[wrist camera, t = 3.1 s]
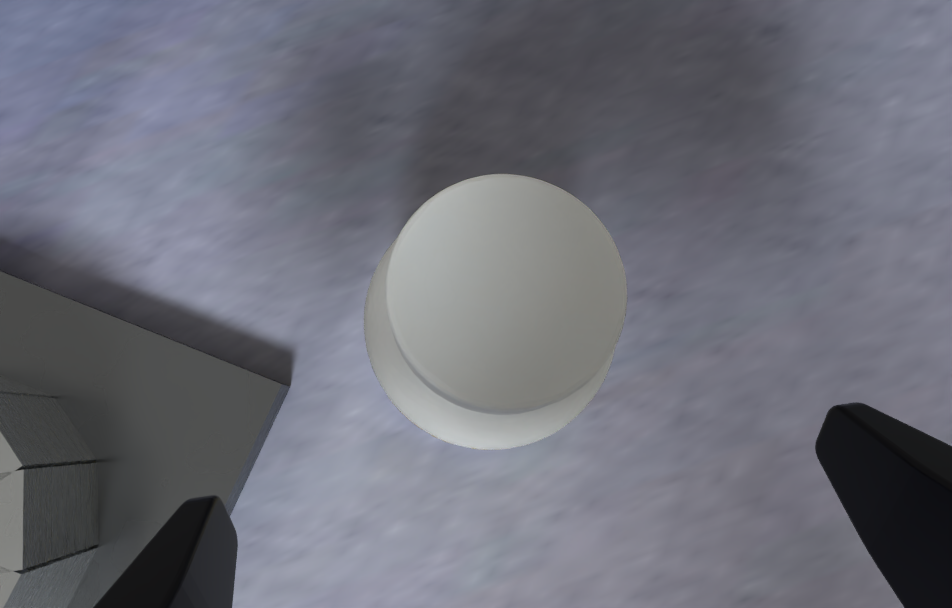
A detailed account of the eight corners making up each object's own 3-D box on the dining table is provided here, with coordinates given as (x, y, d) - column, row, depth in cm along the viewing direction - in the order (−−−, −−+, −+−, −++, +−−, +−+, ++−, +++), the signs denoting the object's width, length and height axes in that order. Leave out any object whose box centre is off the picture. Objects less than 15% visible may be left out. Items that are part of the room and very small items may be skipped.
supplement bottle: (356, 333, 19) (275, 231, 9) (493, 249, 20) (550, 75, 10) (446, 477, 18) (462, 530, 8) (585, 381, 19) (741, 330, 9)
